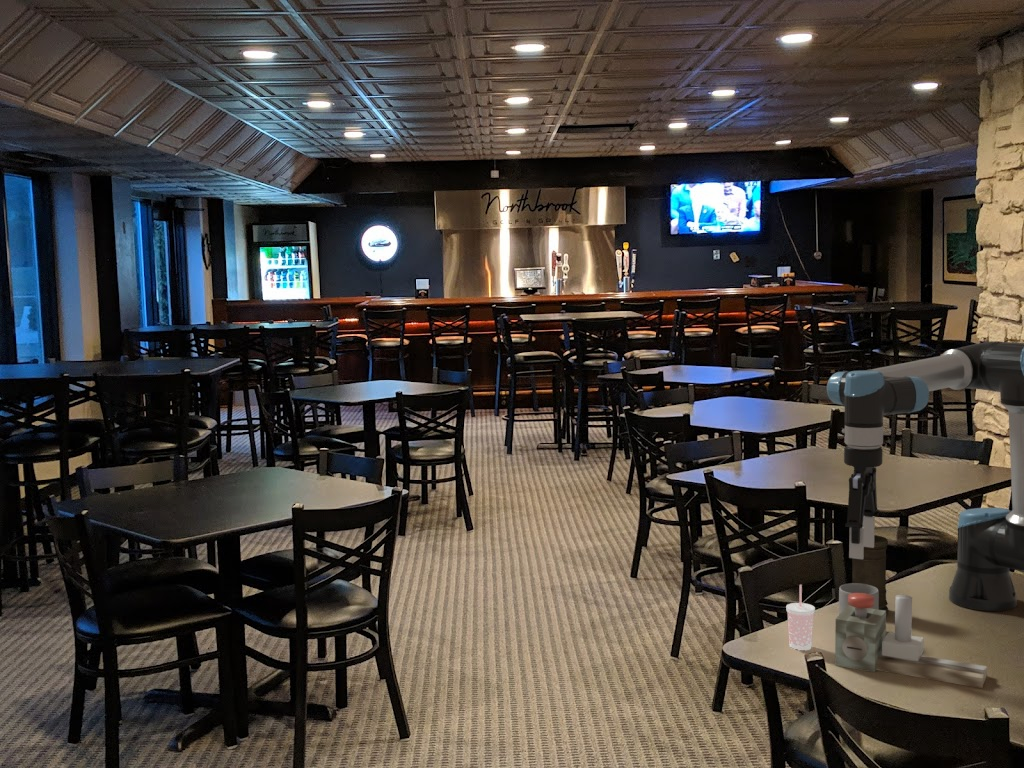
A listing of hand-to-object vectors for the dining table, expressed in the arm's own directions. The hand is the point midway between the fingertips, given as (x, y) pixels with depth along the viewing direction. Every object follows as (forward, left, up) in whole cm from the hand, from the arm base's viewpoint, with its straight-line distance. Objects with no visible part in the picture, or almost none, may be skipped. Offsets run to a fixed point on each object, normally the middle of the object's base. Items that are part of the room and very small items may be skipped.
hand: (861, 552), depth 215 cm
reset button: (0, 0, -15) cm, 15 cm away
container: (-19, -27, -24) cm, 41 cm away
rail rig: (-7, +7, -23) cm, 26 cm away
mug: (-9, -14, -24) cm, 29 cm away
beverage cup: (+8, -11, -24) cm, 27 cm away
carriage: (-6, +6, -20) cm, 22 cm away
